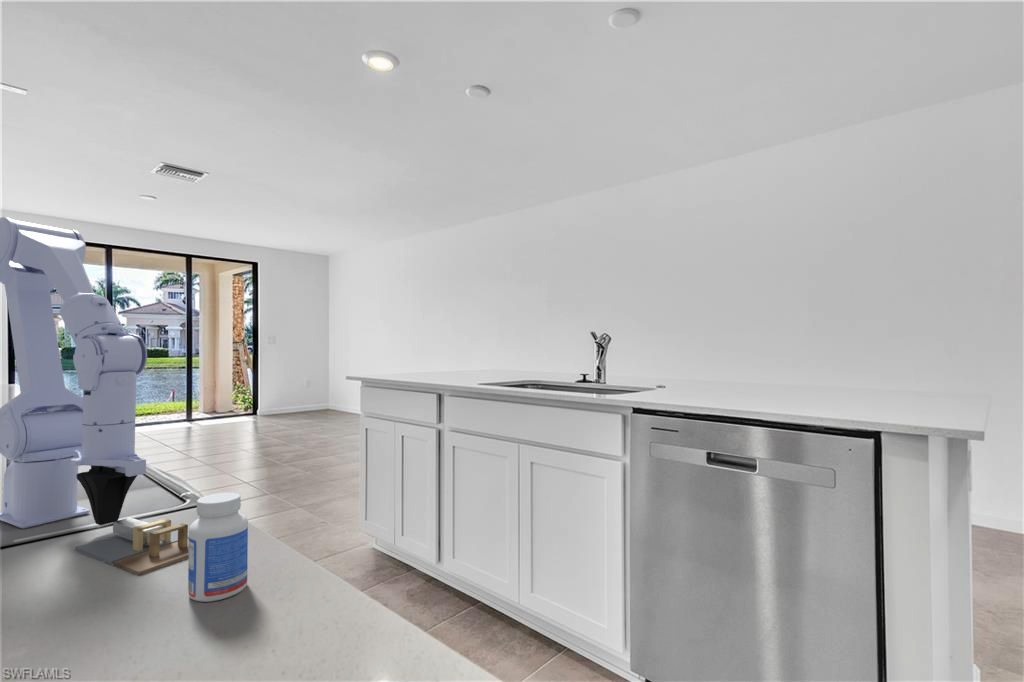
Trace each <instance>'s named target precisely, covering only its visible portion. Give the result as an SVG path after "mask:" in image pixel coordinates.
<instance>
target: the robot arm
mask: <svg viewBox="0 0 1024 682" xmlns="http://www.w3.org/2000/svg"><path fill="white" fill-rule="evenodd" d="M85 241H86V240H85V239H84V237H83V236H82V234H81V233H80V231H78V230H75V229H64V228H59V227H54V226H49V225H43V224H38V223H32V222H26V221H21V220H15V219H12V218H10V217H5V216H4V217H3V216H2V217H0V283H1V284H3V285H4V289H5V296H6V302H7V310H8V316H9V317H8V318H9V322H10V329H11V336H12V337H11V338H12V343H13V350H14V358H15V364H16V370H17V376H18V377H17V378H18V384H19V391H20V393H19V394H17V395H16V396H15V397H13V398H12V399H10V400H9V401H7V402H6V403H5V404H3V405H2V406H1V407H0V455H1V456H3V457H4V458H5V459H7V460H8V461H12V462H10V464H9V465H8V466H7V467H6V469H5V471H4V474H3V497H2V498H3V499H2V500H3V501H2V503H3V504H2V512H0V521H1V522H4V523H7V524H10V525H13V526H15V527H17V528H20V529H25V528H30V527H31V528H32V527H34V526H38V525H39V526H40V525H42V524H47V523H52V522H56V521H60V520H65V519H69V518H73V517H78V516H81V515H85V514H89V513H90V512H92V513H91V514H92V516H93V520H94V522H95V524H96V525H98V526H103V525H107V524H113V522H115V521H119V520H120V519H119V518H120V515H121V514H122V508H123V506H124V502H125V500H126V498H127V497H126V496H127V494H128V492H129V490H130V488H131V487H132V485H133V483H134V481H135V480H136V478H137V477H138V476H139V475H145V474H146V473H147V459H146V458H142V457H141V456H140V455H139V454H138V453H137V452H136V451H135V450H136V449H135V445H136V443H135V441H136V414H137V413H136V408H137V404H136V403H137V401H136V400H137V376H138V375H140V374H142V372H143V371H144V369H145V367H146V365H147V362H148V360H147V359H148V350H147V346H146V344H145V342H144V339H143V337H141V336H140V335H139V334H134V333H133V332H132V331H131V330H128V329H125V327H124V326H123V324H122V323H121V320H120V318H119V317H118V315H117V313H116V312H115V310H114V308H113V306H112V305H111V303H110V301H109V300H108V299H107V298H106V297H105V296H103V295H100V294H99V293H98V294H97V293H95V291H94V289H93V287H92V284H91V281H90V279H89V277H88V274H87V272H86V269H85V267H84V265H83V264H84V260H85V257H86V253H87V251H86V249H87V247H86V246H87V245H86V242H85ZM54 289H55V290H56V292H57V294H58V295H59V296H60V297H61V299H62V301H63V303H62V304H61V306H60V307H59V315H60V317H61V319H62V320H63V322H64V324H65V326H66V328H67V330H68V333H69V334H70V337H71V339H72V340H73V343H74V344H75V349H74V354H73V357H72V360H73V365H74V366H73V367H74V369H75V371H76V374H77V386H78V389H79V390H82V395H79V394H77V393H76V392H74V391H72V390H70V389H68V388H66V384H65V383H66V382H65V379H64V371H63V366H62V365H63V364H62V359H61V354H60V348H59V339H58V334H57V328H56V322H55V316H54V310H53V304H52V303H53V301H52V298H51V296H52V295H51V291H52V290H54ZM80 466H89V467H90V469H88V470H87V471H82V472H79V467H80ZM79 483H80V485H81V486H82V487H83V489H84V491H85V494H86V496H87V498H88V502H89V505H90V509H91V510H90V509H89V508H86V507H82V506H79V505H78V497H79V496H78V490H79Z"/></svg>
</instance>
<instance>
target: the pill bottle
mask: <svg viewBox="0 0 1024 682" xmlns="http://www.w3.org/2000/svg"><path fill="white" fill-rule="evenodd" d="M241 503H242V501H241V495H240V493H236V492H220V493H212V494H208V495H205V496H202V497H200V498H198V499H197V500H196V514H197V516H199V518H197V519H195V520H194V521H193V522H192V523H191V524H190V526H189V527H188V532H189V558H188V565H187V566H188V568H187V569H188V570H187V572H188V575H187V577H188V579H187V582H188V583H187V585H188V586H187V587H188V597H189V598H191V600H193V601H196V602H201V603H202V602H204V603H208V602H216V601H221V600H225V599H228V598H230V597H233V596H235V595H238V594H239V593H241V592H242V591H243V590H244V589H245V588H246V587H247V584H248V558H249V557H248V548H249V547H248V544H249V543H248V542H249V541H248V540H249V538H248V537H249V536H248V534H249V525H248V523H249V521H248V518H247V516H246V515H244V514H243V513H240V512H239V510H241V507H242V504H241Z"/></svg>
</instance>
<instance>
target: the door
mask: <svg viewBox="0 0 1024 682" xmlns="http://www.w3.org/2000/svg"><path fill="white" fill-rule="evenodd" d="M156 526H160V527H164V528H167V527H170V526H172V519H169V518H162V519H159V520H156V521H152V522H147V524H144V525H140V526H136V527H133V541H132V540H129V539H126V538H123V537H120V536H117V535H113V536H110V537H106V538H101V539H98V540H95V541H91V542H89V543H85V544H81V545H77V546H74V549H73V550H74V551H75V552H77V553H80V554H83V555H84V556H88V557H90V558H93V559H96V560H99V561H100V562H103V563H106V564H108V565H113V562H115V561H118V560H121V559H124V558H127V557H131V556H134V555H137V554H140V553H143V552H146V551H149V545H148V546H147V545H144V544H143V530H146V529H149V528H153V527H156ZM188 538H189V531H188ZM175 542H178V530H176V531H173V532H169V533H166V534H164V541H161V542H160V547H162V546H165V545H169V544H172V543H175Z"/></svg>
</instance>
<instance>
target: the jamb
mask: <svg viewBox="0 0 1024 682" xmlns="http://www.w3.org/2000/svg"><path fill="white" fill-rule="evenodd" d="M188 526H189V525H188V524H187V523H184V522H182V523H178V524H175V525H171V526H170V527H167V528H163V529H160V530H156V531H153V532H150V542H149V551H146V552H143V553H140V554H137V555H134V556H131V557H127V558H124V559H121V560H118V561H115V562H113V564H112V565H113V566H114V567H116V568H119V569H121V570H124V571H126V572H129V573H132V574H134V575H137V576H141V575H144V574H147V573H150V572H153V571H155V570H158V569H161V568H164V567H167V566H169V565H173V564H175V563H178V562H179V563H180V561H184V560H187V559H189V538H188V532H189V527H188ZM176 530H178V542H175V543H172V544H169V545H165V546H162V547H160V535H163V534H166V533H169V532H173V531H176Z"/></svg>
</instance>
